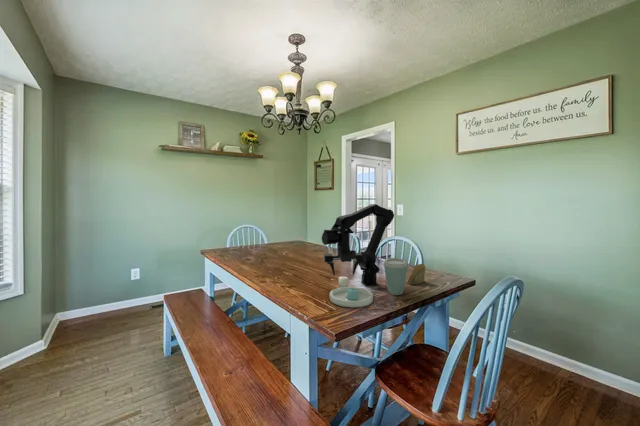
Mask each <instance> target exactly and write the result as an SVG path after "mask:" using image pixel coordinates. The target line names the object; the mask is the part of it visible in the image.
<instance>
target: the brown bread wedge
mask: <svg viewBox="0 0 640 426" xmlns="http://www.w3.org/2000/svg"><path fill="white" fill-rule="evenodd" d="M412 269H413V270H412V272H411V274H410V275H409V278H408V279H407V284H408V285H409V286H410V285H416V284H417V283H419V284H423V283H425V280H426V279H425V274H426V265H425V263H419V264H417V265H415V266H413V268H412Z"/></svg>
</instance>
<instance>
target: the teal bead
mask: <svg viewBox="0 0 640 426" xmlns="http://www.w3.org/2000/svg"><path fill="white" fill-rule="evenodd" d="M347 300H351V301H356V300H358V289H355V288H349V289H347Z"/></svg>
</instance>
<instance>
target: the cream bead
mask: <svg viewBox="0 0 640 426" xmlns="http://www.w3.org/2000/svg"><path fill="white" fill-rule="evenodd" d="M341 287H349V277H347V276H339V277H338V288H341Z"/></svg>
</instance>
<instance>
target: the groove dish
mask: <svg viewBox="0 0 640 426" xmlns="http://www.w3.org/2000/svg"><path fill="white" fill-rule="evenodd" d="M349 288H355V289H358V300H356V301H351V300H347V289H349ZM329 300H330V302H331V303H332V304H334V305H336V306H339V307H344V308H363V307H366V306H367V307H368V306H369V305H371V304H373V300H374V294H373V292H372V291H370V289H365V288H363V287H355V286H348V287H341V288H339V287H337V288H333V289H332V290H331V291H329Z"/></svg>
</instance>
